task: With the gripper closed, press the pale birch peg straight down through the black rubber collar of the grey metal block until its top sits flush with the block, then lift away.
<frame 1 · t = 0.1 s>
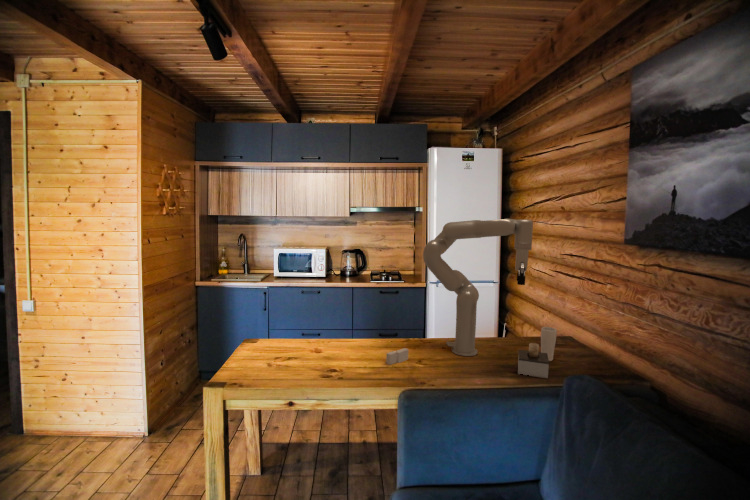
hand: (520, 282, 195), 37 cm above the table, tool pointing down, fingers open, 9 cm apart
collar block: (532, 371, 185), on the table
grey grooved block: (395, 362, 192), on the table
peg: (533, 351, 184), point 9 cm above the table, slide at 0.0 cm
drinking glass: (546, 360, 199), on the table
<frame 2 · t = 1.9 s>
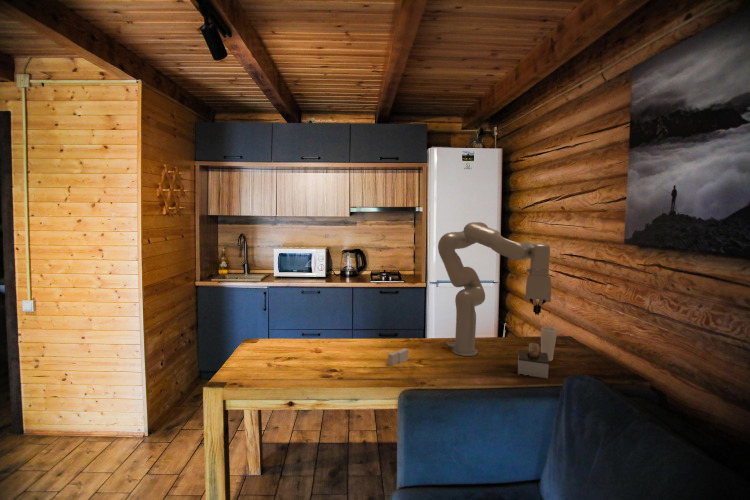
hand: (536, 314, 182), 26 cm above the table, tool pointing down, fingers closed
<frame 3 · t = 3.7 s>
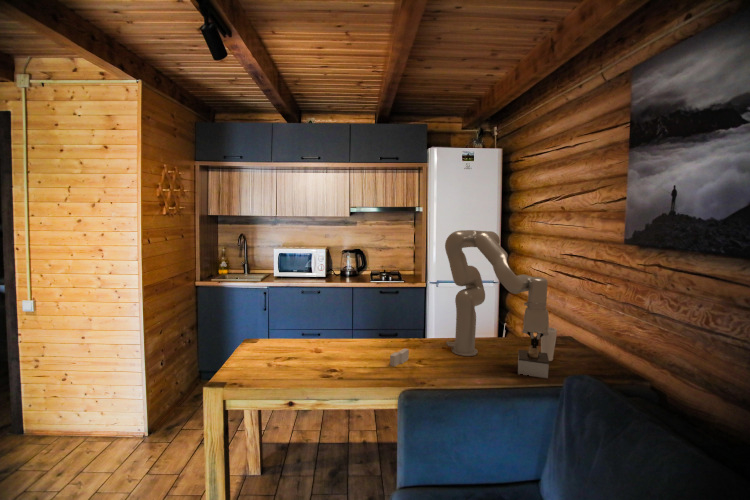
hand: (534, 347, 183), 11 cm above the table, tool pointing down, fingers closed
peg: (533, 353, 184), point 8 cm above the table, slide at 1.1 cm, touching gripper
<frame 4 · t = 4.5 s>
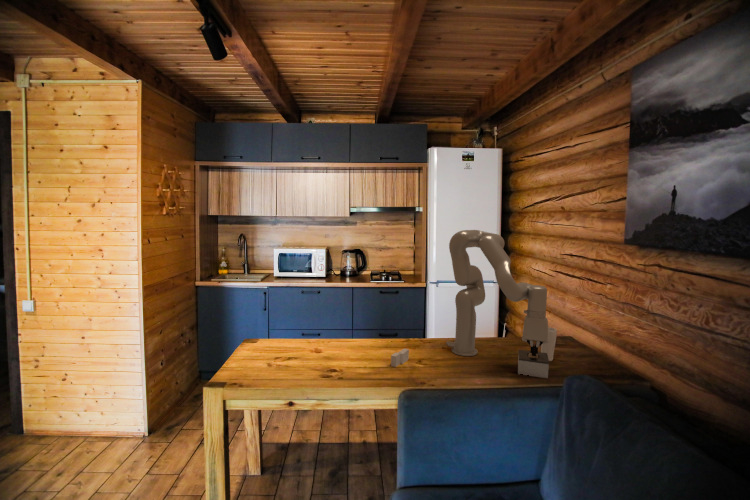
hand: (533, 354, 184), 7 cm above the table, tool pointing down, fingers closed
peg: (532, 361, 184), point 4 cm above the table, slide at 4.7 cm, touching gripper
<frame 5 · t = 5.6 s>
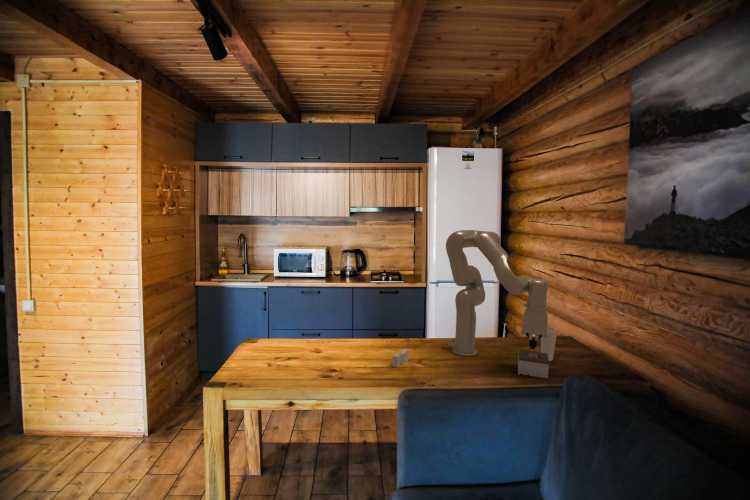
hand: (532, 348, 184), 10 cm above the table, tool pointing down, fingers closed
peg: (532, 361, 184), point 4 cm above the table, slide at 4.8 cm
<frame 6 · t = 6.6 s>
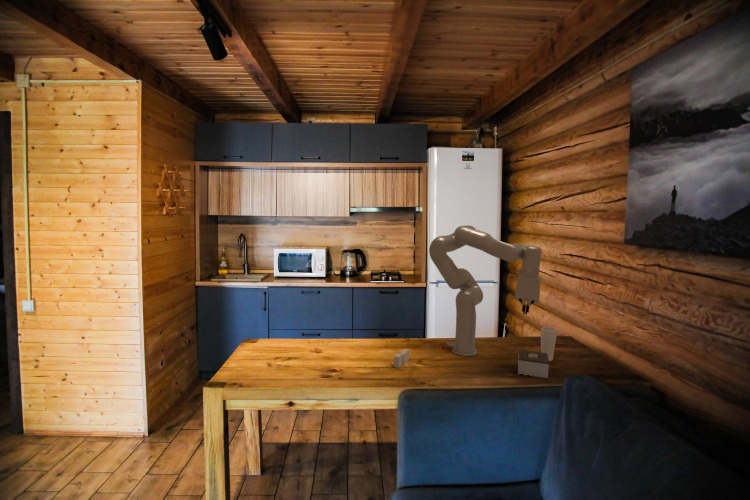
hand: (525, 313, 189), 24 cm above the table, tool pointing down, fingers closed
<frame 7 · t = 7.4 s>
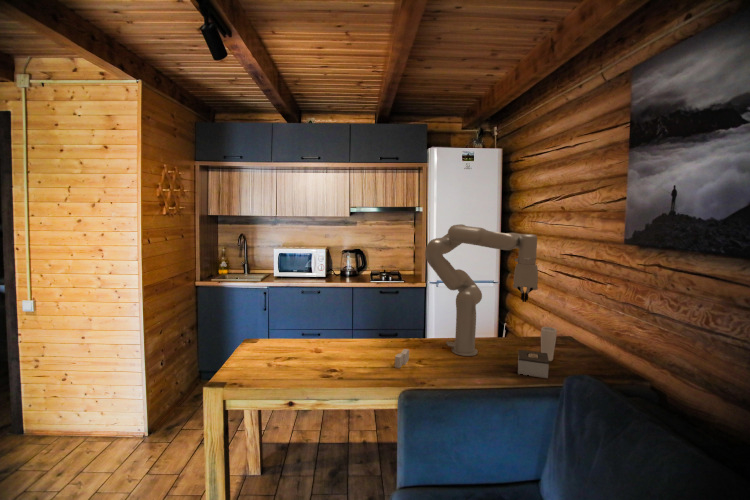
hand: (524, 301, 191), 29 cm above the table, tool pointing down, fingers closed
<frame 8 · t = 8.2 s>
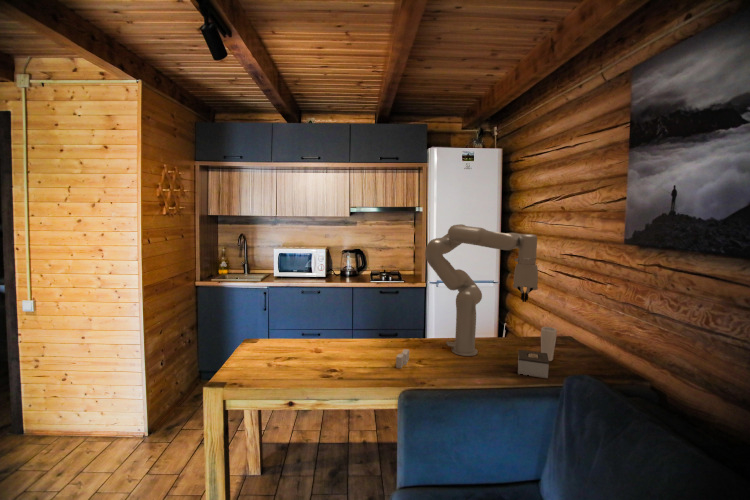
hand: (524, 301, 191), 29 cm above the table, tool pointing down, fingers closed
at the end: peg slide at 4.8 cm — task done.
